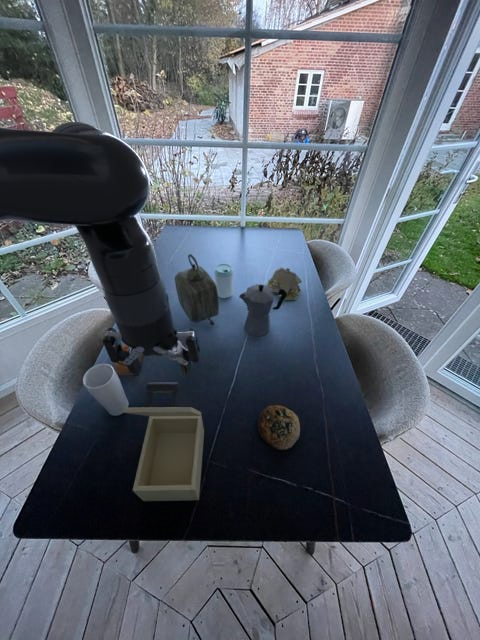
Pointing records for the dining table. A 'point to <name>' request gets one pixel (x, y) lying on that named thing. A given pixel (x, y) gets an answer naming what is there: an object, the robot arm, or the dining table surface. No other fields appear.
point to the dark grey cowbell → (197, 293)
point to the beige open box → (171, 459)
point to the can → (223, 280)
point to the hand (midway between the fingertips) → (162, 371)
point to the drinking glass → (106, 388)
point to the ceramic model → (286, 283)
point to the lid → (163, 410)
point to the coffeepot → (260, 307)
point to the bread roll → (279, 427)
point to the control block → (121, 367)
